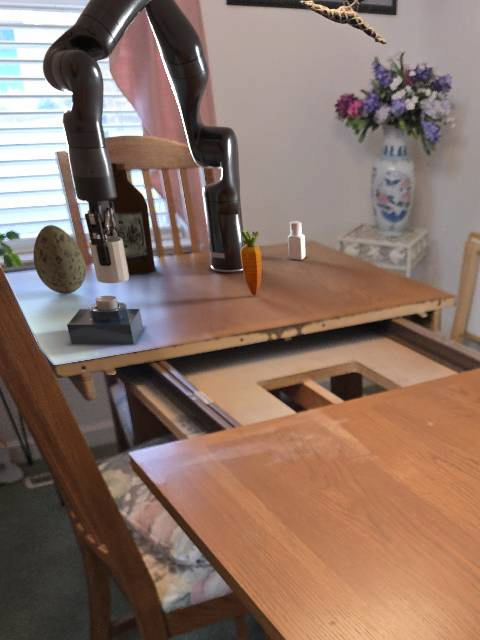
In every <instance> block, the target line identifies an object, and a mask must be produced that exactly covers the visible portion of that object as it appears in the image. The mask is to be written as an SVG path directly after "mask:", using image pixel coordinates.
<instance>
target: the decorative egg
mask: <svg viewBox="0 0 480 640" xmlns="http://www.w3.org/2000/svg"><path fill="white" fill-rule="evenodd" d="M33 265H34V269H35V272H36V274H37V276H38V278H39V280H40V281H41V282H42V284H44V286H46V287H47V288H48V289H50V290H51V291H53V292H55V293H59V294H62V295H63V294H64V295H67V294H73V293H75V292H76V291H78V290H79V289H80V288H81V287H82V286H83V284H84V282H85V279H86V275H87V266H86V262H85V258H84V255H83V253H82V251H81V249H80V247H79V245H77V243H76V241H75V240H74V239H73V238H72V236H71V235H70V234H68V233H67V232H66V231H65V230H64V229H63V228H61V227H58V226H56V225H53V224H48V225H45V226H43V227H42V228H41V230H40V231H39V233H38V234H37V236H36V239H35V242H34V245H33Z"/></svg>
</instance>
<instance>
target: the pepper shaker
mask: <svg viewBox="0 0 480 640" xmlns="http://www.w3.org/2000/svg"><path fill="white" fill-rule="evenodd" d="M289 230H290V234H288V236H287V245H288V246H287V247H288V258H289V259H290V260H299V261H301V260H303V259H304V258H306V239H305V237H306V235H305V234H303V231H302V221H295V220H294V221H293V220H292V221H290V222H289Z"/></svg>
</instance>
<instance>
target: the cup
mask: <svg viewBox="0 0 480 640" xmlns="http://www.w3.org/2000/svg"><path fill="white" fill-rule="evenodd" d="M97 237H98V239H100V235H98V236H97ZM88 243H89V249H90V253H91V258H92V262H93V267H94V271H95V277H96V281H98V282H99V283H101V284H120V283H124V282H126V281H127V282H128V281H129V280H130V274H129V272H128V267H127V262H126V256H125V251H124V245H123V240H122V238H121V237H117V236H108V247H109V252H110V257H111V265H110V266H101V265H100V263H99V258H98V253H97V248H96V247H97V246H95V245H92V244H91V240H90V238H89V239H88Z"/></svg>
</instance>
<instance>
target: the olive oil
mask: <svg viewBox="0 0 480 640" xmlns="http://www.w3.org/2000/svg"><path fill="white" fill-rule="evenodd" d="M111 166H112V171H113V177H114V182H115V188H116V193H117V197H116V198H115V199H114V200H110V201H109V202H113V204H114V210H115V216H116V222H117V228H118V233H117V237H121V238H122V240H123V245H124V251H125V256H126V262H127V267H128V272H129V275H140V274H146V273H150V272H153V271H154V270H155V268H156V265H155V258H154V257H155V256H154V252H153V251H154V250H153V242H152V234H151V227H150V226H151V225H150V216H149V215H150V214H149V209H148V203H147V201H146V199H145V196H144V195H143V194H142V192H141V191H139V189H138V188H136V187H135V186H134V184H132V182H130V180H129V179H128V173H127V169H126V167H125V166H126V164H125V162H121V161H113V162H111Z"/></svg>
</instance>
